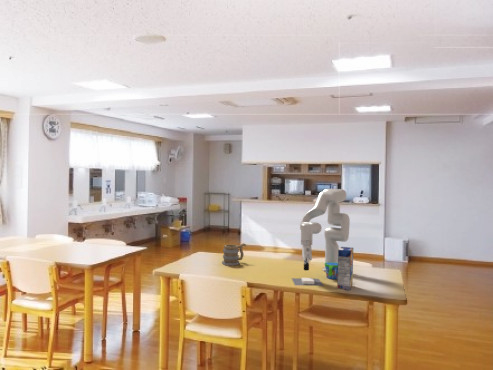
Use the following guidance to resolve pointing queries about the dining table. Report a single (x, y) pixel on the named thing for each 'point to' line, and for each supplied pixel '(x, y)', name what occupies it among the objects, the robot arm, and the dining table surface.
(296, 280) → the mat
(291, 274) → the dining table surface
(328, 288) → the dining table surface
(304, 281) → the tile
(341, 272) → the juice carton
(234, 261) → the tankard
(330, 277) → the snack cup
